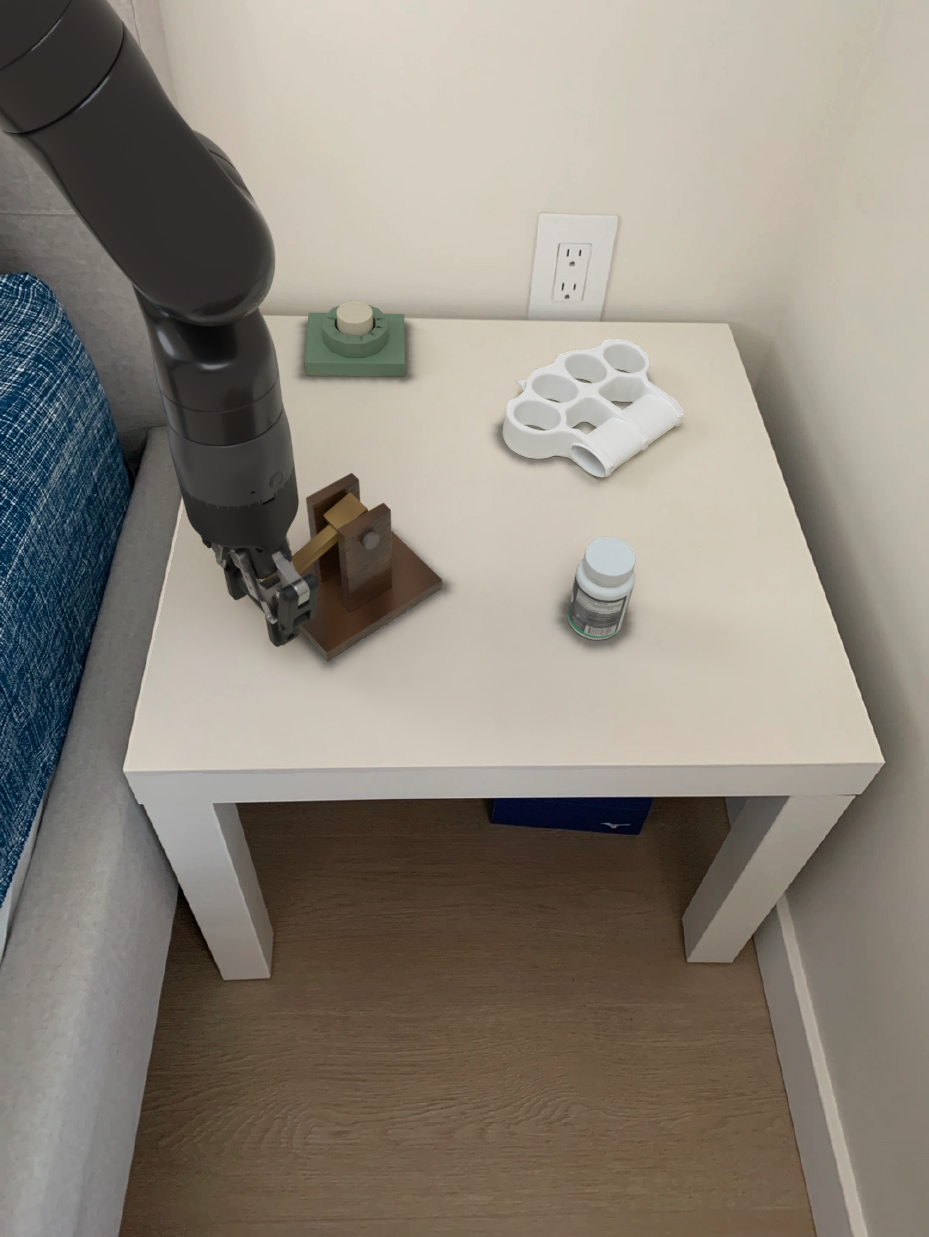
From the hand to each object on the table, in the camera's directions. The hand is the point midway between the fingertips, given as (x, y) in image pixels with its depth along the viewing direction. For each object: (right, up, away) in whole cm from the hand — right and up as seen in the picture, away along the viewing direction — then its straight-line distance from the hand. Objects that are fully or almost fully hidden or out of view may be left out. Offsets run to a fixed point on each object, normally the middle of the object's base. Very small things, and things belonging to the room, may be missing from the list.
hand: (263, 614), depth 76 cm
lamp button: (+5, +29, +22) cm, 37 cm away
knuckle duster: (+28, +20, +21) cm, 40 cm away
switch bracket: (+6, +2, +7) cm, 9 cm away
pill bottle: (+27, 0, +6) cm, 27 cm away
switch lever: (+4, +4, 0) cm, 6 cm away
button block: (+4, +28, +25) cm, 37 cm away
